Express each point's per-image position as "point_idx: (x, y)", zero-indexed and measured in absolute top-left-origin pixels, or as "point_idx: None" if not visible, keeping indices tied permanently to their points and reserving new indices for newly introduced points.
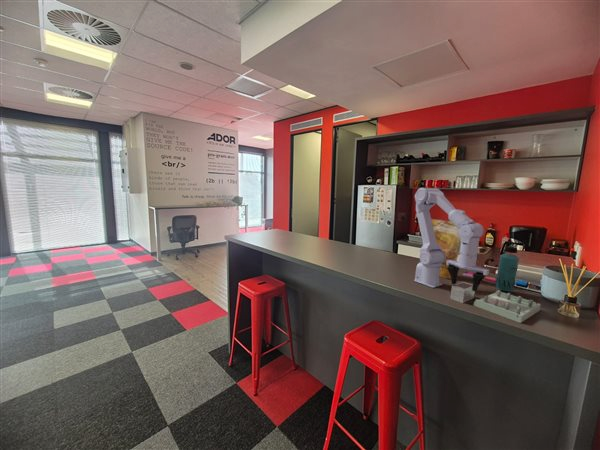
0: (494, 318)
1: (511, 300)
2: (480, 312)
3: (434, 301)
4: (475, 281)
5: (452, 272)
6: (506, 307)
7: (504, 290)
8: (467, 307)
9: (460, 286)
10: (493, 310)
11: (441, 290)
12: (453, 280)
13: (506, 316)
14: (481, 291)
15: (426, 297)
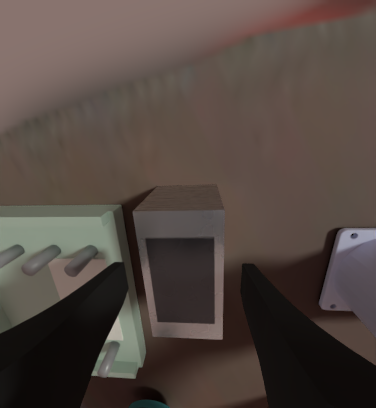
0: (10, 154)
1: None
2: (65, 158)
3: (243, 42)
4: (51, 313)
5: (296, 347)
6: (5, 251)
7: (140, 400)
8: (117, 156)
9: (180, 245)
10: (41, 208)
11: (292, 239)
12: (251, 282)
13: (2, 207)
14: (189, 355)
15: (306, 49)
